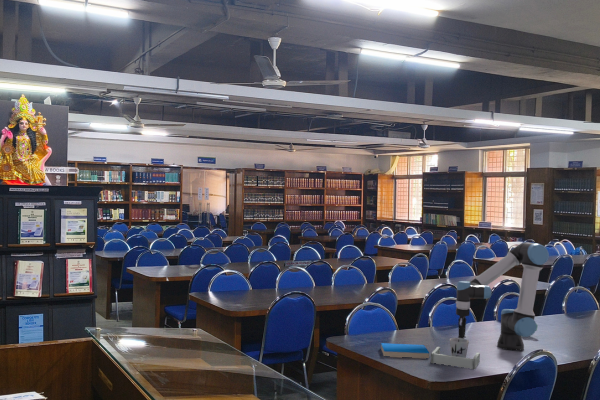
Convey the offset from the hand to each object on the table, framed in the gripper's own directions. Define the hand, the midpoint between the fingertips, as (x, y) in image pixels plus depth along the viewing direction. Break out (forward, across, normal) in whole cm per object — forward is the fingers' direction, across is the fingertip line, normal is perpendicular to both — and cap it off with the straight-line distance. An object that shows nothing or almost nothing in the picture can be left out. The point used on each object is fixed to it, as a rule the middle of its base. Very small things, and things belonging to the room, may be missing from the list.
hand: (461, 349), depth 319 cm
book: (+3, +20, -28) cm, 35 cm away
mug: (+2, +10, 0) cm, 10 cm away
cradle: (+2, +21, +1) cm, 21 cm away
